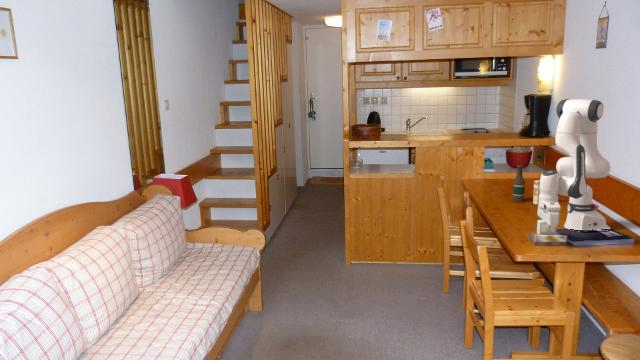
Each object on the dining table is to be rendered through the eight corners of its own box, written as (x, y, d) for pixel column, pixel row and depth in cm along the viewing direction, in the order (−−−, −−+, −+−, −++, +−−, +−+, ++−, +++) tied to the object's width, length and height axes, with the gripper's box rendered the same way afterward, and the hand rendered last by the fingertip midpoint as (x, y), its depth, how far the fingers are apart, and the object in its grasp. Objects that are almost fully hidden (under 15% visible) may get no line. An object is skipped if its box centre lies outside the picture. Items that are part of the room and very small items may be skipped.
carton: (536, 233, 266) (537, 220, 265) (553, 233, 266) (553, 219, 264) (539, 235, 262) (540, 222, 261) (556, 235, 261) (556, 222, 260)
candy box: (537, 204, 332) (538, 181, 329) (532, 203, 336) (533, 180, 333) (548, 203, 335) (549, 180, 332) (544, 202, 339) (545, 179, 336)
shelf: (556, 236, 271) (556, 227, 270) (566, 245, 257) (567, 236, 256) (526, 236, 272) (526, 227, 271) (535, 245, 258) (535, 236, 257)
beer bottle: (521, 199, 348) (523, 164, 343) (526, 202, 340) (528, 166, 335) (510, 199, 347) (511, 164, 342) (514, 202, 340) (516, 166, 335)
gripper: (534, 198, 271) (533, 223, 274) (548, 208, 251) (546, 235, 254) (547, 197, 270) (546, 223, 273) (562, 208, 250) (560, 235, 253)
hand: (546, 229), depth 263 cm, fingers closed on carton, 4 cm apart
